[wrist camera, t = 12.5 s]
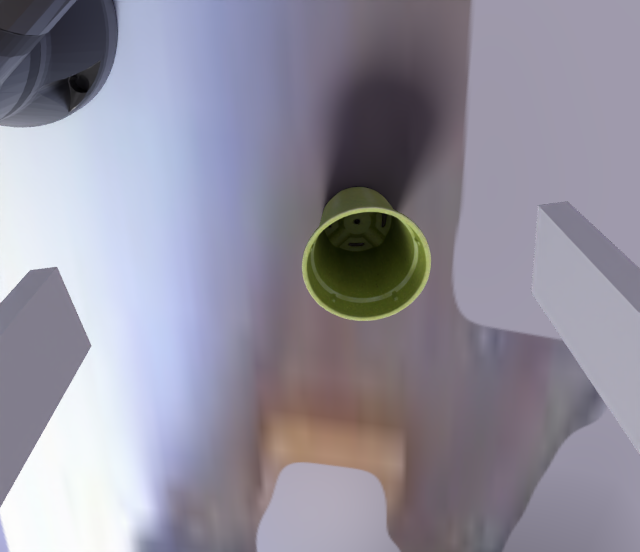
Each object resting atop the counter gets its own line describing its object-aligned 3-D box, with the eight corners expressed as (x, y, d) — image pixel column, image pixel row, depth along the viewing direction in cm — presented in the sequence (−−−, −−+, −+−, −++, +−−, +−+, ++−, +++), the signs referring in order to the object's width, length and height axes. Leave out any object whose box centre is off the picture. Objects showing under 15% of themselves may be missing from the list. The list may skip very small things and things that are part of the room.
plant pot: (414, 163, 44) (435, 204, 37) (410, 264, 49) (428, 318, 41) (300, 169, 44) (297, 211, 37) (307, 269, 49) (306, 324, 42)
